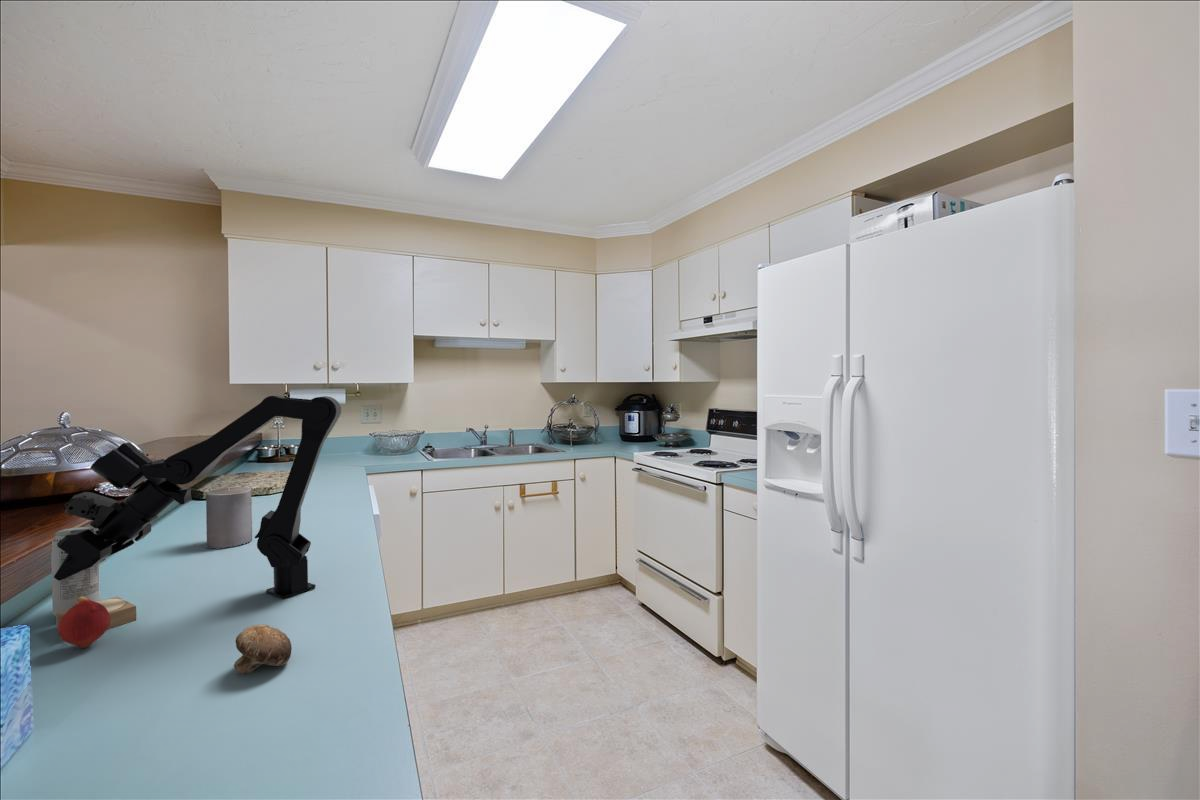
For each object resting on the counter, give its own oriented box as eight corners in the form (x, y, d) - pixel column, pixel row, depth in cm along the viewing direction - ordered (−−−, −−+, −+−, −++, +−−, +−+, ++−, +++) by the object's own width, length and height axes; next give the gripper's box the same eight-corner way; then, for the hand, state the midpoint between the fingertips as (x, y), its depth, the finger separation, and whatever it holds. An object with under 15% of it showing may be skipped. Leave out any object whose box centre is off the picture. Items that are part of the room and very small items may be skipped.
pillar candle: (211, 540, 139) (210, 484, 138) (255, 536, 143) (254, 481, 142) (202, 551, 130) (200, 490, 129) (249, 546, 134) (248, 487, 133)
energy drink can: (97, 603, 99) (95, 524, 98) (103, 612, 95) (101, 529, 94) (50, 614, 94) (48, 531, 93) (55, 624, 90) (52, 537, 90)
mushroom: (208, 663, 71) (241, 618, 74) (231, 658, 79) (260, 617, 81) (262, 689, 72) (293, 643, 75) (280, 682, 79) (307, 640, 82)
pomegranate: (107, 634, 86) (105, 586, 86) (114, 645, 83) (112, 595, 83) (56, 648, 82) (54, 597, 82) (61, 660, 78) (59, 607, 78)
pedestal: (136, 620, 92) (136, 604, 92) (73, 639, 85) (73, 622, 85) (117, 610, 96) (117, 594, 96) (56, 627, 89) (55, 611, 89)
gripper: (130, 469, 104) (60, 529, 101) (70, 486, 86) (-17, 560, 83) (179, 505, 107) (112, 566, 103) (131, 530, 89) (49, 603, 86)
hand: (68, 572), depth 94 cm, fingers closed on energy drink can, 6 cm apart
